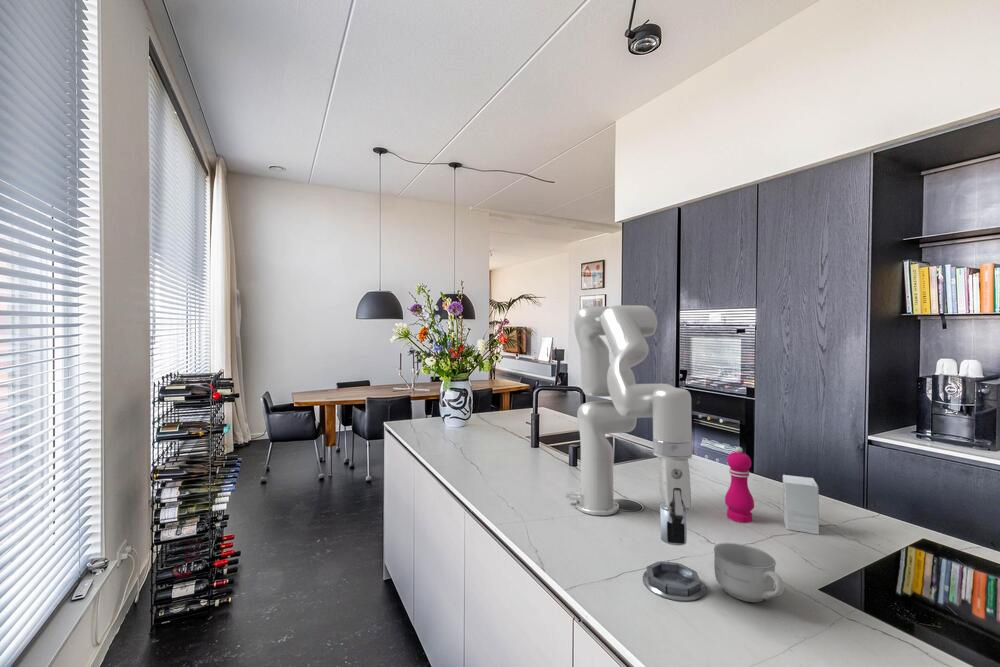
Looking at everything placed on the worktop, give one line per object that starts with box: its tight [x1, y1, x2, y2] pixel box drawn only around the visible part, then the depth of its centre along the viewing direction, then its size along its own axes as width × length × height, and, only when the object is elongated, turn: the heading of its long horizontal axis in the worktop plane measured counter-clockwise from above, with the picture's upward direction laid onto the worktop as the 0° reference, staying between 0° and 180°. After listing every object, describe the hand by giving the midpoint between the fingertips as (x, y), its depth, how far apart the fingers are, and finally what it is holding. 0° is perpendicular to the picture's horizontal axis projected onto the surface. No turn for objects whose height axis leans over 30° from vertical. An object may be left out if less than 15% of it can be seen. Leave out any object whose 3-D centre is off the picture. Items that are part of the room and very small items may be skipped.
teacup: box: [713, 542, 785, 603], centre depth 87 cm, size 14×11×8 cm
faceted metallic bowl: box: [642, 560, 706, 602], centre depth 91 cm, size 12×12×2 cm
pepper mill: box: [724, 446, 755, 524], centre depth 124 cm, size 7×7×20 cm
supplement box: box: [782, 474, 820, 535], centre depth 118 cm, size 7×7×13 cm
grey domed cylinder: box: [659, 501, 688, 546], centre depth 91 cm, size 5×5×7 cm
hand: (673, 535), depth 91 cm, fingers closed on grey domed cylinder, 5 cm apart
